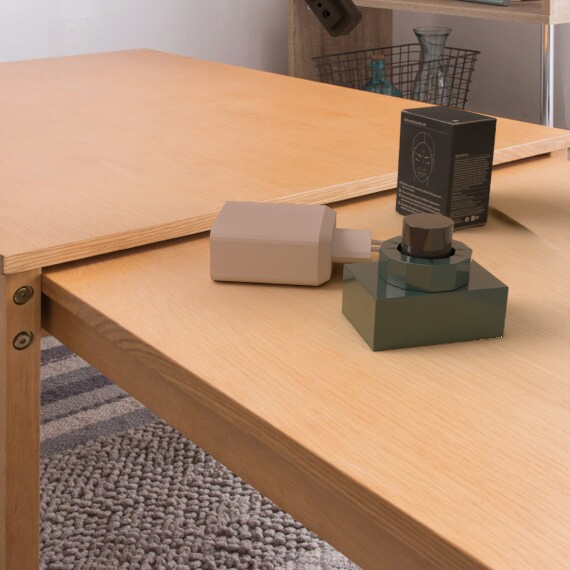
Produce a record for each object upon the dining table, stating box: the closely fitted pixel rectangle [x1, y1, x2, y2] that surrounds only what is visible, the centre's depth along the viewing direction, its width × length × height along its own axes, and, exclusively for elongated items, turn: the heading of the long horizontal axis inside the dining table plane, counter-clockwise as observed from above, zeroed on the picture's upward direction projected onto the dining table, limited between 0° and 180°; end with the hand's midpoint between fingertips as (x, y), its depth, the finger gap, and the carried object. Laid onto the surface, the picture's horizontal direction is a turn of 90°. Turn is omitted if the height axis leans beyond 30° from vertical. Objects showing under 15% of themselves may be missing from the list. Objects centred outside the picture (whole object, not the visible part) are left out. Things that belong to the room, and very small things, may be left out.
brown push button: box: [401, 213, 454, 260], centre depth 66 cm, size 4×4×2 cm
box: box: [395, 105, 498, 231], centre depth 91 cm, size 8×6×11 cm
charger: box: [209, 200, 385, 287], centre depth 78 cm, size 5×9×15 cm
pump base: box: [341, 234, 510, 353], centre depth 68 cm, size 10×7×6 cm
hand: (349, 28), depth 65 cm, fingers closed
